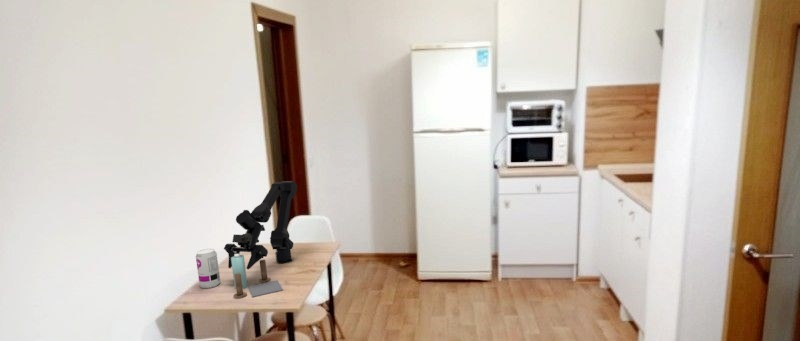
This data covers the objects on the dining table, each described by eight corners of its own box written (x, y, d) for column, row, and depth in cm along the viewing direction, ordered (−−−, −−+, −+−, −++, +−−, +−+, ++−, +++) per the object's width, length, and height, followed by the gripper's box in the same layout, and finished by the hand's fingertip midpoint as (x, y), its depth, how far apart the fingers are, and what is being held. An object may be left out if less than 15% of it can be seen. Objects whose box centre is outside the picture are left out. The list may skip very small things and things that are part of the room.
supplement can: (200, 290, 190) (196, 255, 188) (199, 284, 198) (194, 250, 195) (221, 285, 194) (217, 251, 192) (219, 279, 201) (214, 247, 199)
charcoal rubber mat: (277, 280, 195) (277, 280, 195) (283, 290, 184) (283, 289, 184) (248, 287, 190) (248, 286, 190) (252, 297, 179) (252, 296, 179)
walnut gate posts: (263, 278, 199) (261, 258, 198) (273, 278, 198) (270, 258, 197) (230, 298, 180) (228, 276, 179) (241, 299, 178) (238, 277, 177)
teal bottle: (246, 283, 194) (242, 251, 192) (248, 287, 190) (244, 254, 188) (234, 286, 192) (230, 253, 190) (235, 290, 188) (231, 257, 186)
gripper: (224, 225, 195) (208, 258, 187) (260, 226, 189) (246, 260, 180) (238, 238, 204) (224, 270, 195) (273, 239, 197) (261, 273, 189)
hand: (238, 268), depth 190 cm, fingers open, 9 cm apart
